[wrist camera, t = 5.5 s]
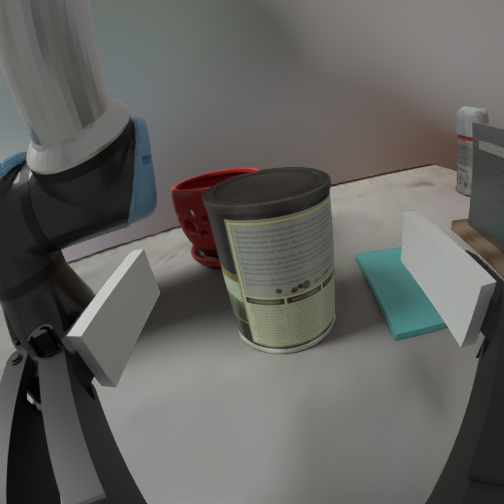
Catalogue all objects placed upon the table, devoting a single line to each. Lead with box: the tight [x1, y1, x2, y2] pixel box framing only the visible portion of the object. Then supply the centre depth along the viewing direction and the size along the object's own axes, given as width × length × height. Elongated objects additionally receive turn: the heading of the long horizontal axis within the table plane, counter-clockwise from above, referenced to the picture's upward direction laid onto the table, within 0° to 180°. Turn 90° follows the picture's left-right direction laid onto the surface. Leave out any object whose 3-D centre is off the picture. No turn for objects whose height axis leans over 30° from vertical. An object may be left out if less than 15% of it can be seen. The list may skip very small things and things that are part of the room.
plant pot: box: [171, 167, 261, 267], centre depth 42 cm, size 13×13×12 cm
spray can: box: [456, 106, 489, 196], centre depth 46 cm, size 8×8×20 cm
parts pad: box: [356, 247, 447, 340], centre depth 29 cm, size 15×15×1 cm
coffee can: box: [202, 167, 336, 354], centre depth 26 cm, size 10×10×14 cm
